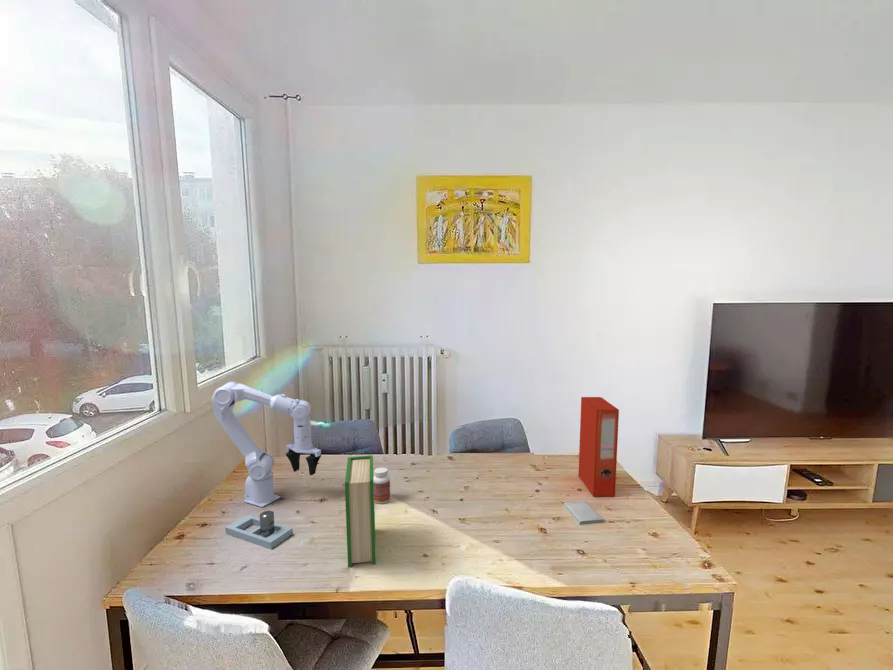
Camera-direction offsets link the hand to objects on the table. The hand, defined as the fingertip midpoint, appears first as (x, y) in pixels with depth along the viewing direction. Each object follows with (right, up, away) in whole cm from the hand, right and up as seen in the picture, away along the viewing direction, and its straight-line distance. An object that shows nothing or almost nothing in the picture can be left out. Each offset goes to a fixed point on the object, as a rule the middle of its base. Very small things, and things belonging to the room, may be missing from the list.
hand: (304, 472), depth 158 cm
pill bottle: (+28, -10, -1) cm, 29 cm away
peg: (-4, -12, -24) cm, 27 cm away
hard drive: (+96, -11, -12) cm, 97 cm away
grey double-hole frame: (-7, -12, -22) cm, 26 cm away
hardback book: (+26, -13, -29) cm, 41 cm away
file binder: (+107, -8, +8) cm, 107 cm away
